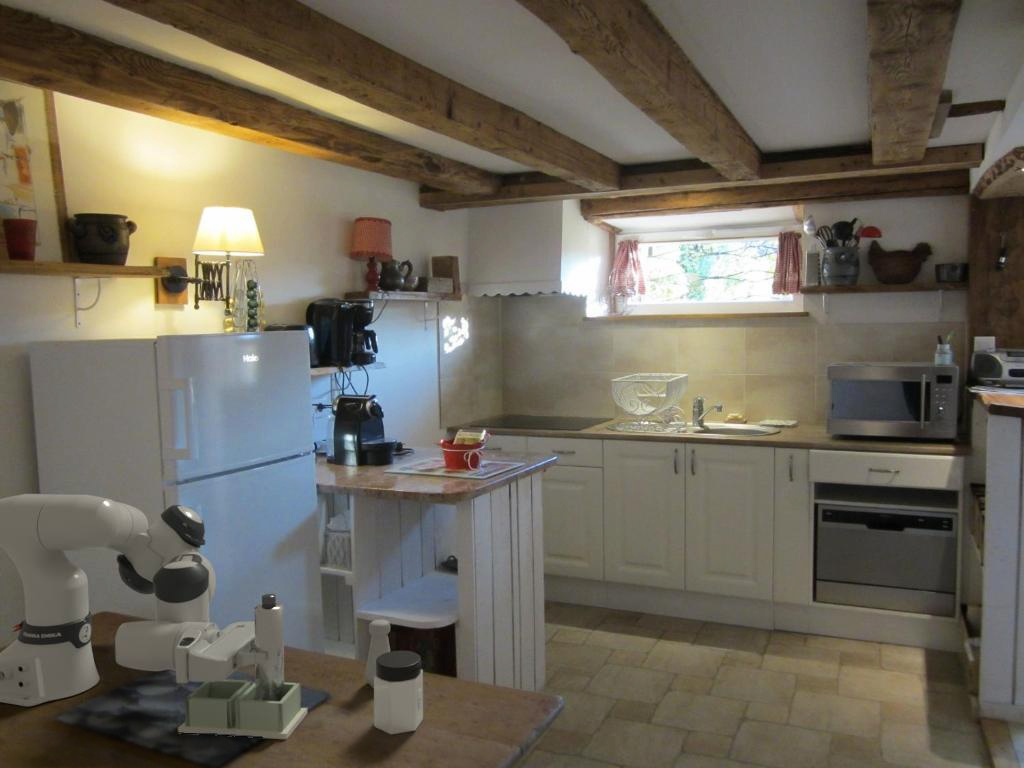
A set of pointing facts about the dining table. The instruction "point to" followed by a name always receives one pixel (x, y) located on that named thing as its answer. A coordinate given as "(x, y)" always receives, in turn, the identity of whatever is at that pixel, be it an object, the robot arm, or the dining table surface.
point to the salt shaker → (377, 646)
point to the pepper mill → (269, 649)
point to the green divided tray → (242, 710)
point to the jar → (398, 692)
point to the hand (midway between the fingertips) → (273, 650)
